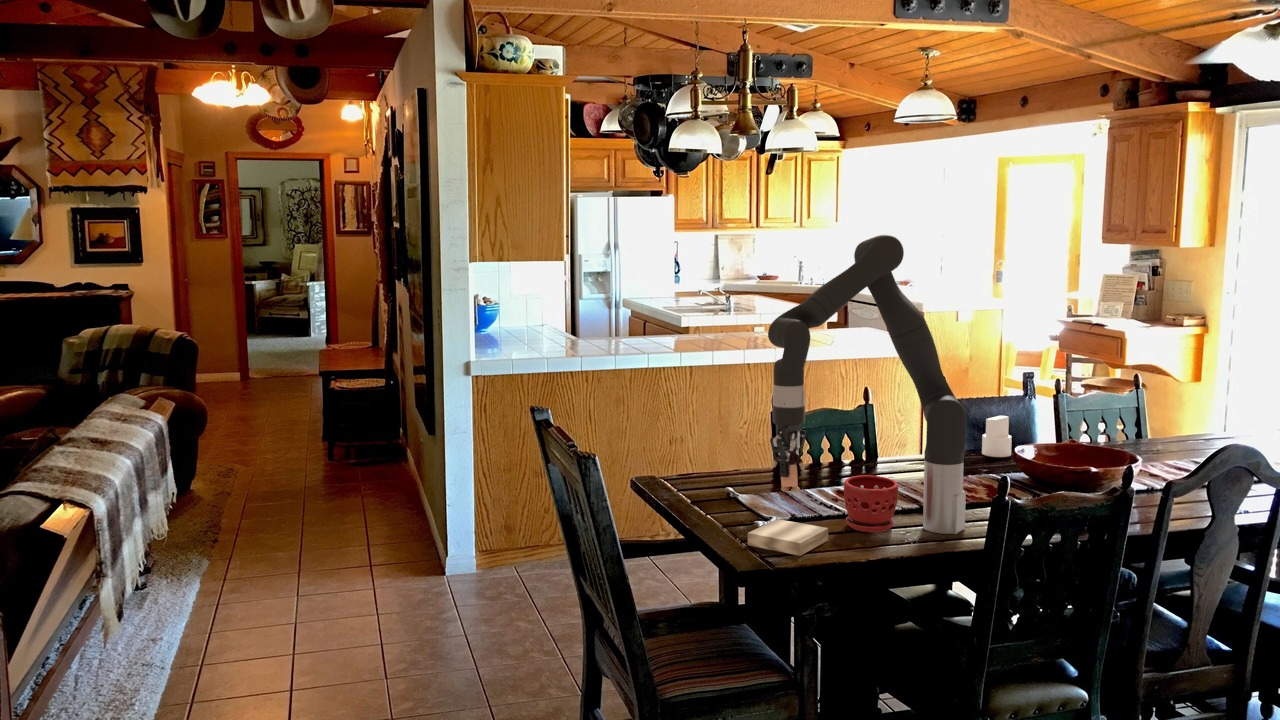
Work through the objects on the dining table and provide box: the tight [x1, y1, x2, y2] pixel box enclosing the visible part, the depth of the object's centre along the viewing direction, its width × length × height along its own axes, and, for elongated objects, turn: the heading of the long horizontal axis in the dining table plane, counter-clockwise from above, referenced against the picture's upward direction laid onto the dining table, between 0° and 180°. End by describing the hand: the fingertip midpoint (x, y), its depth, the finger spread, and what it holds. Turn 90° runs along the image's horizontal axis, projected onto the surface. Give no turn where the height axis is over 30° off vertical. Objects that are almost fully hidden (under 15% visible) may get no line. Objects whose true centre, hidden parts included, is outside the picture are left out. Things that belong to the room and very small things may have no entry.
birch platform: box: [747, 518, 829, 557], centre depth 244 cm, size 14×14×3 cm
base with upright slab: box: [981, 415, 1012, 458], centre depth 333 cm, size 9×9×12 cm
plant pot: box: [843, 474, 899, 533], centre depth 254 cm, size 13×13×12 cm
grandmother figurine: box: [771, 439, 806, 492], centre depth 242 cm, size 8×4×13 cm, turn 84°
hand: (788, 474), depth 242 cm, fingers closed on grandmother figurine, 3 cm apart
